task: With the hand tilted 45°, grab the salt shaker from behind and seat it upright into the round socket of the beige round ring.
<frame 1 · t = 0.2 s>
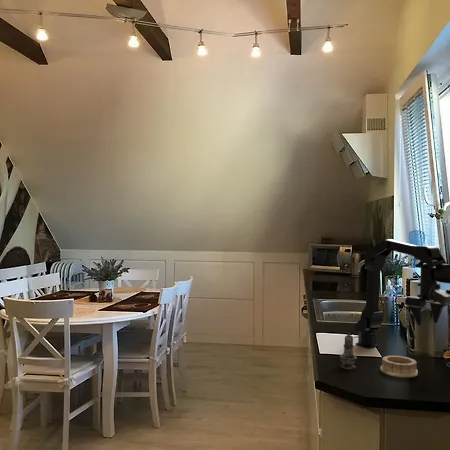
hand: (427, 324, 181), 15 cm above the worktop, tool pointing down, fingers open, 9 cm apart
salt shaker: (347, 367, 176), on the worktop
beige round ring: (398, 371, 172), on the worktop
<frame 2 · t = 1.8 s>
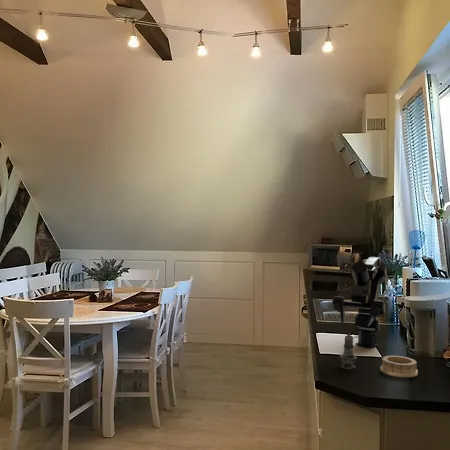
hand: (354, 324, 183), 13 cm above the worktop, tool tilted 45°, fingers open, 9 cm apart
nothing on the worktop moved.
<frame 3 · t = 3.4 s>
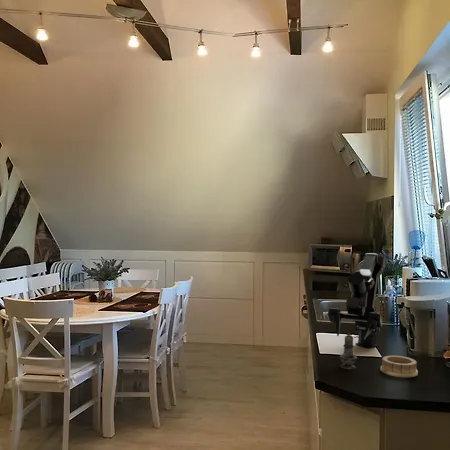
hand: (350, 337, 178), 10 cm above the worktop, tool tilted 45°, fingers open, 9 cm apart
nothing on the worktop moved.
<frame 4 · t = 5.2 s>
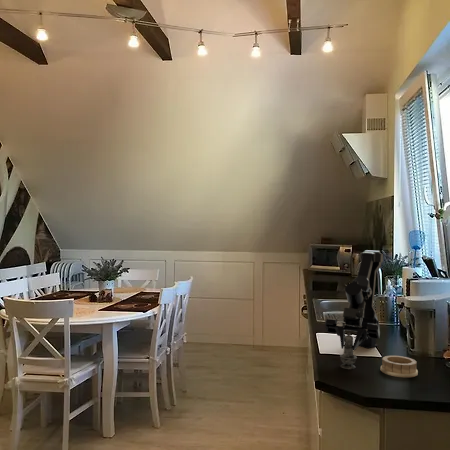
hand: (347, 348, 175), 7 cm above the worktop, tool tilted 45°, fingers closed on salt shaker, 4 cm apart
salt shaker: (347, 367, 176), on the worktop, touching gripper
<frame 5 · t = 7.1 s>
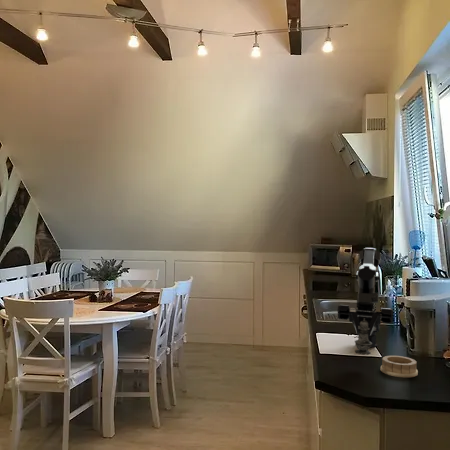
hand: (363, 334, 172), 12 cm above the worktop, tool tilted 45°, fingers closed on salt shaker, 4 cm apart
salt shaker: (362, 353, 174), point 5 cm above the worktop, touching gripper
when the fingers open (9 cm above the worktop, at t = 9.2 s): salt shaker drops 1 cm, resting on beige round ring.
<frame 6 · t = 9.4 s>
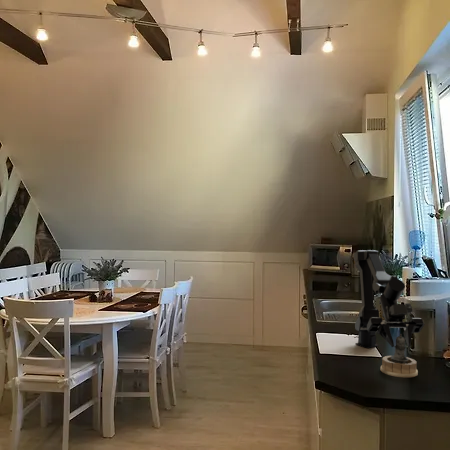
hand: (401, 346, 170), 9 cm above the worktop, tool tilted 45°, fingers open, 5 cm apart
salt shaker: (398, 368, 172), point 1 cm above the worktop, touching beige round ring
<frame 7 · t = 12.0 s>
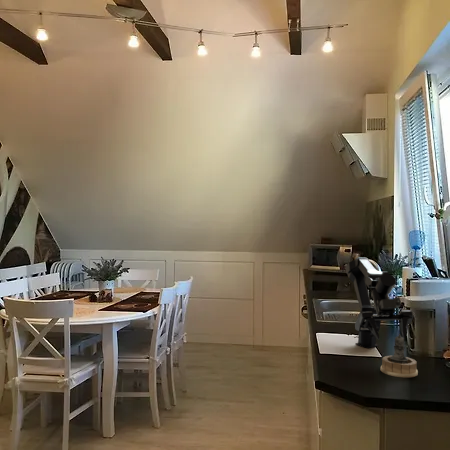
hand: (391, 338, 180), 9 cm above the worktop, tool tilted 45°, fingers open, 9 cm apart
nothing on the worktop moved.
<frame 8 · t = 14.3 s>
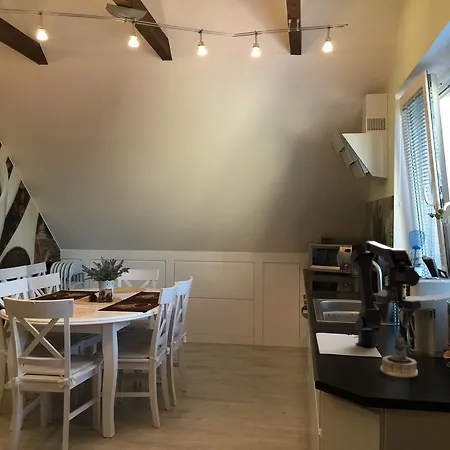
hand: (394, 324, 187), 13 cm above the worktop, tool pointing down, fingers open, 9 cm apart
nothing on the worktop moved.
at the end: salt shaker 0.2 cm off-centre on the beige round ring, point 0.8 cm above the beige round ring's base; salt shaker tilted 0°; the gripper is holding nothing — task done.
